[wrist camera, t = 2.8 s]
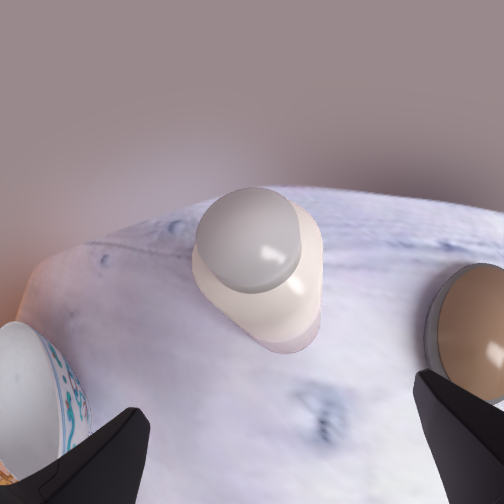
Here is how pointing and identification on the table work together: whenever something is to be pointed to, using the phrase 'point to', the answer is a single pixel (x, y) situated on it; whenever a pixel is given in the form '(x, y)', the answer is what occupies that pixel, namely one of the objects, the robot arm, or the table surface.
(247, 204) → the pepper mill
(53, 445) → the chinaware
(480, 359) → the display plinth
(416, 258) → the table surface
